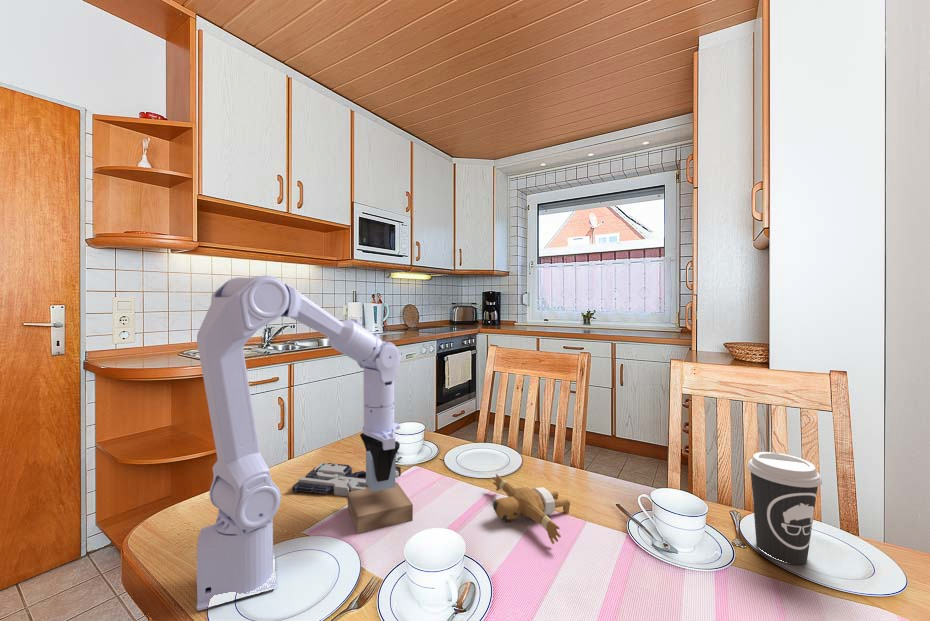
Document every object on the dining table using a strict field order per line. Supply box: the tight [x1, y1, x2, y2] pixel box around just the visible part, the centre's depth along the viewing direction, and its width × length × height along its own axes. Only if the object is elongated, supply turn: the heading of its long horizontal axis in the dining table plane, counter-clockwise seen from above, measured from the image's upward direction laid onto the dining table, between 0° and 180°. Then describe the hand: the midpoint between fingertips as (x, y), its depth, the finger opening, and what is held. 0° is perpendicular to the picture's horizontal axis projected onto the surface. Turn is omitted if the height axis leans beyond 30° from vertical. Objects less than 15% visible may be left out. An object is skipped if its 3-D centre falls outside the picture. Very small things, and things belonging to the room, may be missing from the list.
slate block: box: [365, 450, 397, 492], centre depth 77 cm, size 4×4×6 cm
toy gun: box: [291, 462, 402, 497], centre depth 90 cm, size 3×20×15 cm
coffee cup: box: [746, 451, 823, 566], centre depth 66 cm, size 10×10×15 cm
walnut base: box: [347, 481, 414, 535], centre depth 77 cm, size 10×10×3 cm
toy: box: [492, 473, 571, 545], centre depth 76 cm, size 16×16×5 cm
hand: (379, 474), depth 77 cm, fingers closed on slate block, 4 cm apart
